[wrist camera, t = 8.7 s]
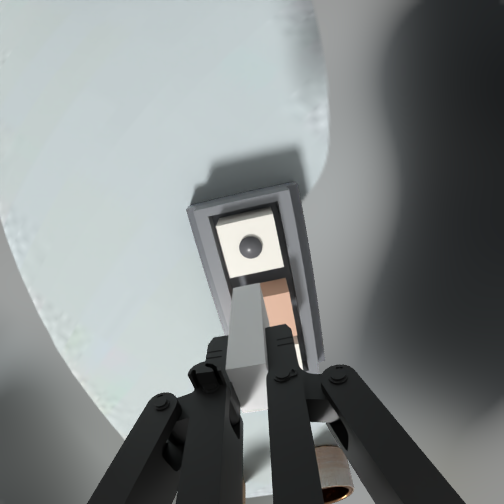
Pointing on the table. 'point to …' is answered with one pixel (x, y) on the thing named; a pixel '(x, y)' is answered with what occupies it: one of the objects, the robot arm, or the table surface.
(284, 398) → the robot arm
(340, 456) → the planter
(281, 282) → the blank key
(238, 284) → the keypad
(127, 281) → the table surface
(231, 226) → the dot key
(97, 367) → the table surface
